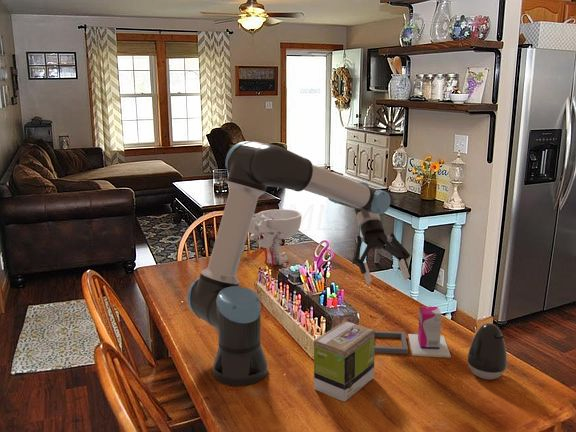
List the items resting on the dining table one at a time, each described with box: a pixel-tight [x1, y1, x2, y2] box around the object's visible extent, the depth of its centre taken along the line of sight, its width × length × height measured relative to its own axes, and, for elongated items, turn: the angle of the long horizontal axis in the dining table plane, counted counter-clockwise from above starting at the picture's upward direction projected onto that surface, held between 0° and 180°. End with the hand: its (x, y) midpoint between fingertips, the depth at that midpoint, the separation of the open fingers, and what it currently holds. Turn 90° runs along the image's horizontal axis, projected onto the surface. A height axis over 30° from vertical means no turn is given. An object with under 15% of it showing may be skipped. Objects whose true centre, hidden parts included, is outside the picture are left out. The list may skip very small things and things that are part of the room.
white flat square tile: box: [407, 333, 452, 359], centre depth 163 cm, size 13×11×1 cm
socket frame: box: [374, 330, 409, 355], centre depth 164 cm, size 11×11×2 cm
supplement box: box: [417, 305, 443, 349], centre depth 162 cm, size 6×6×12 cm
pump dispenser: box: [467, 322, 508, 381], centre depth 145 cm, size 10×10×15 cm
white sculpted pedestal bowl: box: [248, 208, 303, 268], centre depth 233 cm, size 25×19×23 cm
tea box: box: [313, 320, 376, 403], centre depth 141 cm, size 15×10×15 cm, turn 141°
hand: (388, 280), depth 171 cm, fingers open, 13 cm apart
